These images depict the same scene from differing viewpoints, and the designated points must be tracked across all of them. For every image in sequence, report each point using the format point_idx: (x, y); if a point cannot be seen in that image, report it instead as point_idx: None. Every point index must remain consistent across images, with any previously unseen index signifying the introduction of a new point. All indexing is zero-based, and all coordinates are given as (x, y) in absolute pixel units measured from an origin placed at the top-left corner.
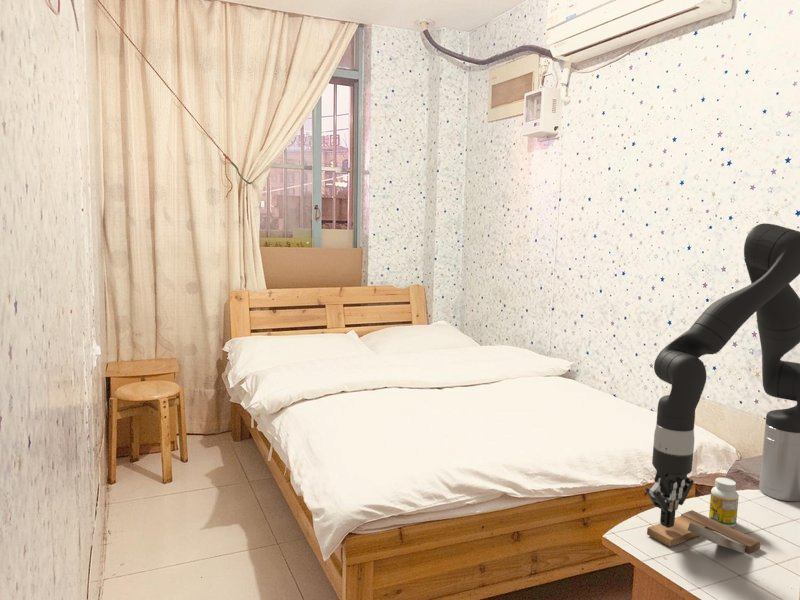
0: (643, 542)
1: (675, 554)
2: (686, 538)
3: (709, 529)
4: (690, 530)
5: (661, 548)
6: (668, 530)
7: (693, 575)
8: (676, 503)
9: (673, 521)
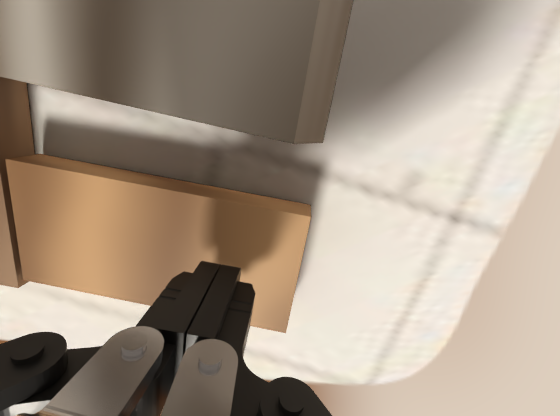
0: (349, 293)
1: (341, 164)
2: (183, 184)
3: (5, 140)
4: (326, 114)
5: (338, 226)
6: (224, 263)
7: (483, 8)
8: (112, 382)
9: (199, 276)
